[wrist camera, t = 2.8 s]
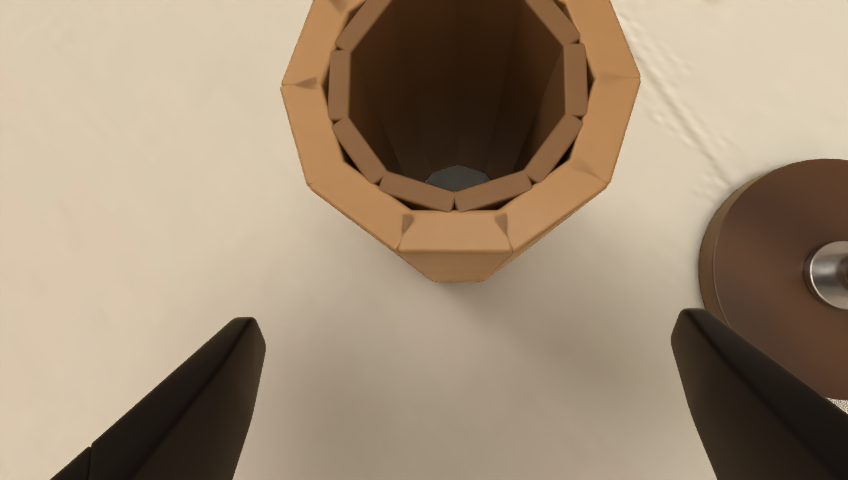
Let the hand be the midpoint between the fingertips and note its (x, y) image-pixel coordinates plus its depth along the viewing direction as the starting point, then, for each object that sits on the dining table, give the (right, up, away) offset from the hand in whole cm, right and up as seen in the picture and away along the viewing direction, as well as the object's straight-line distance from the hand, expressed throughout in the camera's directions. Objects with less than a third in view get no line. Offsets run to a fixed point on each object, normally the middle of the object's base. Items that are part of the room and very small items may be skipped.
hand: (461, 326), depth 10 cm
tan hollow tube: (+1, +3, +12) cm, 12 cm away
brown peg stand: (+16, 0, +10) cm, 19 cm away
